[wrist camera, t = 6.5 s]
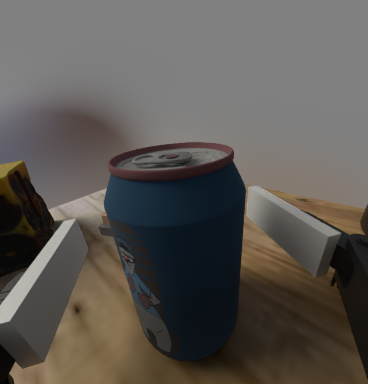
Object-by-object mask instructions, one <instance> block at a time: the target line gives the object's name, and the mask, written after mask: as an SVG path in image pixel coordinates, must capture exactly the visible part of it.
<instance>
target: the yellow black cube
mask: <svg viewBox="0 0 368 384" xmlns="http://www.w3.org/2000/svg"><path fill="white" fill-rule="evenodd" d="M53 223H54V219H53V217H52V215H51V213H50V212H49V211H48V209H47V206H46V204H45V202H44V201H43V199H42V198H41V196H40V195H39V194H37V193H36V191H35V189H34V187H33V185H32V184H31V181H30V176H29V174H28V171H27V168H26V165H25V163H24V161H17V162H12V163H7V164H1V165H0V276H2V275H5V274H7V273H9V272H12V271H14V270H16V269H18V268H22V267H25V266H28V265H30V264H32V263H33V261H34V260H35V259H36V257H37V256H38V255H39V253H40V252H41V251H42V249H43V248H44V247H45V245H46V244H47V243H48V241H49V240H50V239H51V238H52V236H53V230H51V226H52V224H53Z"/></svg>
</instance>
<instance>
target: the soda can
mask: <svg viewBox="0 0 368 384" xmlns="http://www.w3.org/2000/svg"><path fill="white" fill-rule="evenodd" d="M233 158H234V151H233V149H232V148H231V147H229V146H226V145H222V144H216V143H202V142H189V143H177V144H166V145H158V146H152V147H146V148H141V149H136V150H132V151H129V152H125V153H123V154H120V155H117V156H115V157H113V158H112V159H111V160H109V162H108V168H109V171H110V173H111V175H110V179H109V183H108V187H107V191H106V195H105V200H104V208H105V211H106V214H107V217H108V220H109V224H110V227H111V230H112V233H113V236H114V240H115V243H116V246H117V249H118V252H119V255H120V259H121V262H122V265H123V268H124V271H125V275H126V278H127V281H128V284H129V287H130V290H131V294H132V297H133V300H134V303H135V306H136V309H137V313H138V316H139V319H140V322H141V325H142V328H143V331H144V333H145V335H146V337H147V339H148V340H149V342H150V343H151V344H152V345H153V346H154V347H155V348H156V349H157V350H158V351H159V352H161V353H162V354H164V355H166V356H168V357H170V358H173V359H176V360H182V361H193V360H199V359H202V358H205V357H207V356H209V355H211V354H213V353H214V352H216V351H217V350H218V349H220V348H221V347H222V346H223V345H224V344H225V342H226V341H227V340H228V338H229V337H230V335H231V333H232V331H233V329H234V326H235V323H236V319H237V311H238V297H239V283H240V268H241V254H242V239H243V225H244V210H245V196H246V188H245V184H244V182H243V180H242V178H241V176H240V174H239V172H238V170H237V168H236V166H235V164H234V162H233Z"/></svg>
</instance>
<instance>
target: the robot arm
mask: <svg viewBox="0 0 368 384" xmlns="http://www.w3.org/2000/svg"><path fill="white" fill-rule="evenodd" d="M246 216H247V217H248V218H250V219H251V220H252V221H253V222H254V223H255V224H256V225H257V226H258V227H260V228H261V229H262V230H263V231H264V232H265V233H266V234H267V235H268V236H269V237H271V238H272V239H273V240H274V241H275V242H276V243H277V244H278V245H279V246H281V247H282V248H283V249H284V250H285V251H286V252H287V253H288V254H289V255H290V256H292V257H293V258H294V259H295V260H296V261H297V262H298V263H299V264H300V265H301V266H303V267H304V268H305V269H306V270H307V271H308V272H309V273H310V274H311V275H313V276H314V277H315V278H316V277H319V276H322V275H325V274H327V272H328V269H329V266H331V267H332V268H334V269H335V272H334V275H333V278H332V280H331V286H334V283H335V282H336V283H337V288H338V289H339V292H340V295H341V298H342V301H343V304H344V308H345V311H346V314H347V317H348V320H349V323H350V326H351V329H352V332H353V336H354V339H355V342H356V345H357V348H358V351H359V354H360V357H361V360H362V364H363V367H364V370H365V373H366V376H367V379H368V205H367V206H366V209H365V211H364V214H363V216H362V219H361V228H362V230H363V231H364V233H365V234H366V235H362V234H351V235H349V234H347V233H345V232H343V231H342V230H340V229H338V228H336V227H334V226H332V225H331V224H329V223H327V222H324V221H323V220H322V219H320V218H317V217H316V216H314V215H313V214H311V213H309V212H306V211H303V210H299V209H297V208H296V207H294V206H292V205H290V204H289V203H287V202H285V201H283V200H281V199H280V198H278V197H276V196H274V195H273V194H271V193H269V192H267V191H266V190H264V189H262V188H260V187H258V186H252V187H248V200H247V213H246ZM88 250H89V249H88V246H87V244H86V241H85V239H84V236H83V234H82V231H81V229H80V226H79V224H78V222H77V219H71V220H66V221H64V222H63V223H62V224H61V226H60V227H59V228H58V230H57V231H56V232H55V234H54V235H53V236H52V238H51V239H50V240H49V241H48V243H47V244H46V245H45V247H44V248H43V249H42V251H41V252H40V253H39V255H38V256H37V257H36V259H35V260H34V261H33V263H32V264H31V265H30V267H29V268H28V269H27V271H25V272H21V273H19V274H18V275H17V276H16V277H15V278H13V279H12V280H11V281H10V282H9V283H8V284H7V285H6V286H5V288H4V289H3V290H2V291H1V292H0V384H14V380H13V378H12V376H11V375H10V374H9V372H10V371H11V369H12V367H13V365H14V363H15V361H16V362H17V364H18V365H19V366H20V367H21V368H22V369H23V368H26V367H30V366H33V365H36V364H39V363H42V362H44V361H45V359H46V356H47V354H48V351H49V349H50V346H51V344H52V341H53V338H54V336H55V333H56V331H57V328H58V326H59V323H60V321H61V318H62V316H63V313H64V311H65V308H66V306H67V303H68V301H69V298H70V296H71V293H72V291H73V288H74V286H75V283H76V281H77V278H78V276H79V273H80V271H81V268H82V266H83V263H84V261H85V258H86V255H87V253H88Z"/></svg>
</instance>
